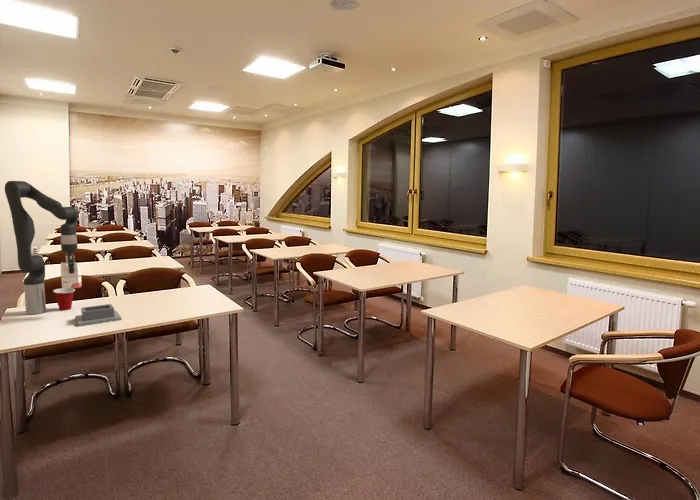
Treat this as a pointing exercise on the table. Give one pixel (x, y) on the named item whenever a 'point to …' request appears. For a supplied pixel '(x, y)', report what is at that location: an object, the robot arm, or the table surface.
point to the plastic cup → (64, 297)
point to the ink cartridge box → (70, 276)
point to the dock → (97, 315)
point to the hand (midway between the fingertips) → (71, 272)
